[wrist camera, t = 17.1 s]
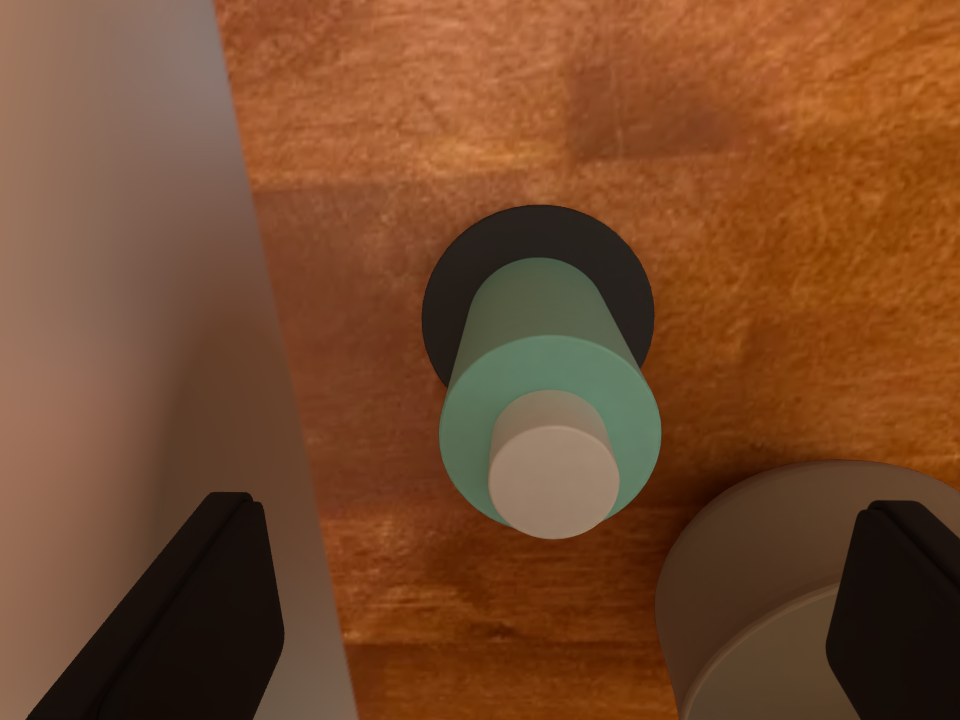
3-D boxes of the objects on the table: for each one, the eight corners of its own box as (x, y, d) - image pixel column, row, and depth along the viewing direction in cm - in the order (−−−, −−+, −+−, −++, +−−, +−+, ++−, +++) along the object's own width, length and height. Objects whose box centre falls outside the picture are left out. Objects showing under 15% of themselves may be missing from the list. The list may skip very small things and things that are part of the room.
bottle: (451, 367, 24) (399, 549, 14) (491, 238, 23) (468, 332, 12) (578, 406, 25) (625, 615, 14) (628, 282, 23) (728, 413, 12)
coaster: (398, 387, 25) (396, 391, 25) (459, 172, 22) (458, 173, 22) (602, 449, 26) (603, 455, 25) (689, 247, 23) (693, 249, 22)
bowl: (613, 636, 29) (658, 872, 20) (644, 394, 25) (721, 551, 16) (882, 653, 29) (1058, 903, 19) (963, 408, 24) (1241, 580, 15)
